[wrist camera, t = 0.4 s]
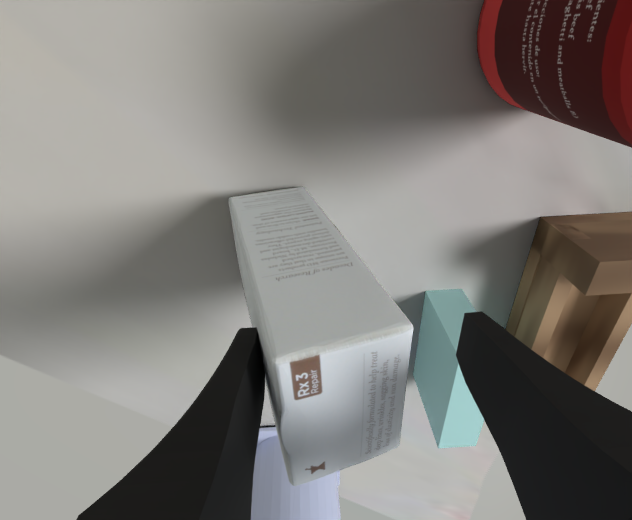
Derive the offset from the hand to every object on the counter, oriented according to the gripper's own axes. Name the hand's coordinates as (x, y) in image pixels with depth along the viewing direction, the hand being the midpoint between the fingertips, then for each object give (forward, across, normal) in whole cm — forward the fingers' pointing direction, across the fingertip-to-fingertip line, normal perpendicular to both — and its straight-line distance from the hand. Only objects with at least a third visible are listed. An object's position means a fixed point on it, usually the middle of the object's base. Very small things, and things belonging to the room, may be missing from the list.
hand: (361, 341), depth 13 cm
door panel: (+10, -7, +10) cm, 15 cm away
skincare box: (+9, +4, 0) cm, 10 cm away
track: (+10, -15, +10) cm, 20 cm away
